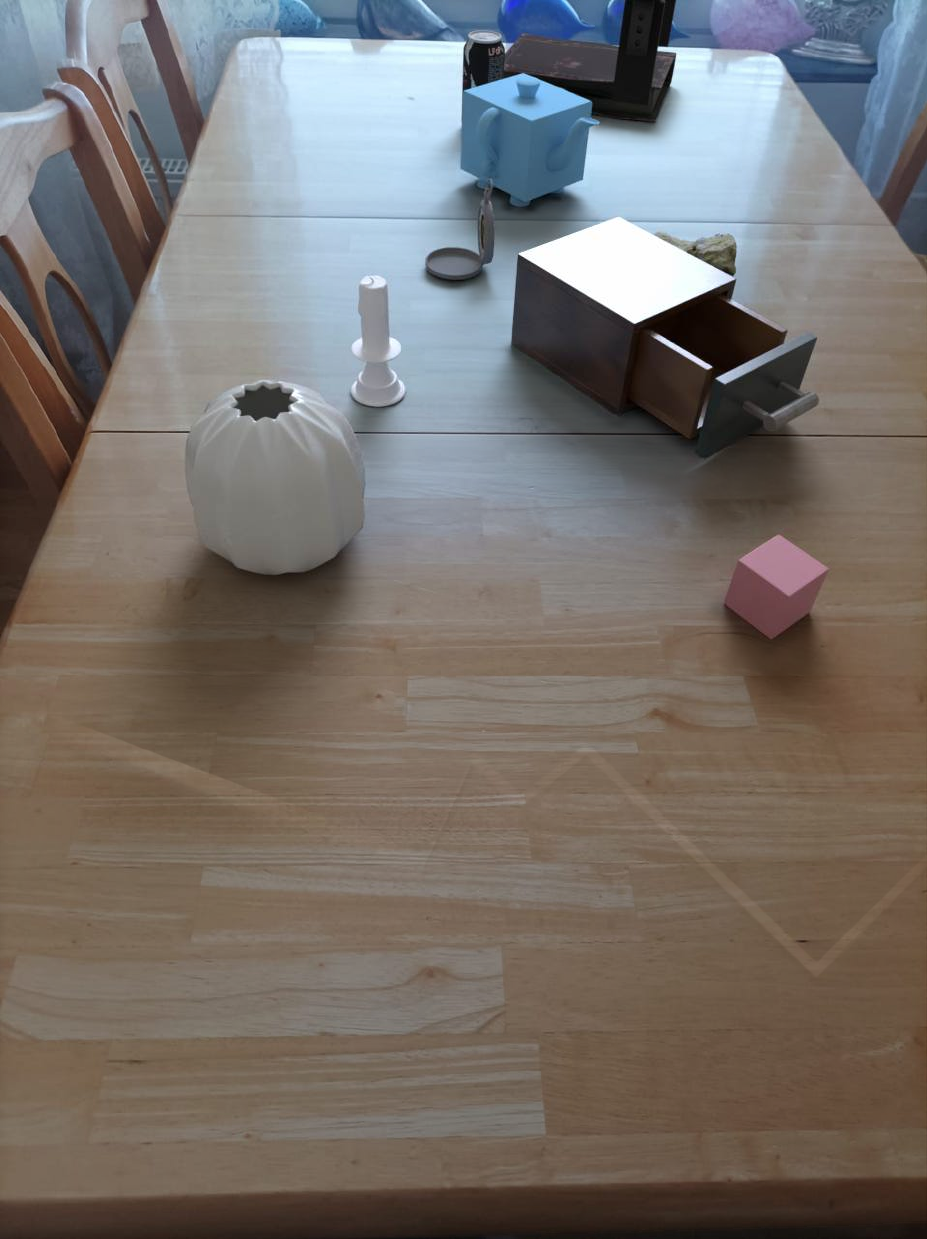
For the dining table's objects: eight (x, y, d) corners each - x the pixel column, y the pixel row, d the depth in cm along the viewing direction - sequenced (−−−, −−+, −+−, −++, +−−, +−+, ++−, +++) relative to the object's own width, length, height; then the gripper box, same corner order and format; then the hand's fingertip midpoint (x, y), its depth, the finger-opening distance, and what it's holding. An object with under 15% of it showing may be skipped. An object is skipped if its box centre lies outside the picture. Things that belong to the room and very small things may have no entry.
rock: (646, 260, 113) (631, 285, 106) (658, 204, 109) (644, 227, 102) (734, 278, 111) (726, 306, 104) (750, 223, 107) (742, 247, 100)
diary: (520, 63, 155) (523, 29, 151) (671, 83, 151) (677, 48, 147) (491, 103, 143) (493, 66, 139) (654, 126, 138) (660, 89, 135)
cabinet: (713, 368, 96) (736, 278, 88) (617, 416, 90) (634, 324, 82) (605, 303, 104) (618, 216, 96) (510, 343, 98) (517, 253, 90)
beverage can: (462, 119, 138) (464, 27, 129) (500, 121, 138) (506, 29, 129) (460, 135, 134) (462, 40, 125) (500, 137, 134) (505, 42, 125)
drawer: (825, 430, 88) (854, 356, 82) (737, 482, 82) (761, 407, 76) (679, 343, 97) (695, 271, 91) (591, 384, 91) (603, 310, 86)
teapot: (445, 186, 123) (447, 78, 113) (530, 156, 130) (538, 52, 120) (542, 237, 114) (552, 125, 104) (627, 202, 121) (644, 94, 111)
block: (810, 612, 73) (829, 568, 70) (771, 640, 71) (789, 597, 67) (762, 577, 76) (778, 533, 72) (722, 603, 74) (737, 559, 70)
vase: (252, 467, 83) (229, 332, 73) (396, 509, 80) (391, 373, 70) (164, 568, 74) (124, 430, 64) (321, 619, 71) (304, 482, 61)
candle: (368, 413, 89) (361, 297, 80) (341, 386, 92) (331, 270, 83) (416, 396, 91) (414, 281, 82) (388, 370, 94) (384, 255, 85)
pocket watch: (413, 266, 108) (412, 177, 101) (469, 245, 112) (472, 158, 104) (459, 295, 104) (461, 205, 97) (515, 272, 108) (521, 184, 100)
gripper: (662, -324, 66) (616, 18, 82) (610, -298, 50) (566, 122, 66) (769, -318, 65) (702, 28, 81) (752, -289, 49) (673, 136, 65)
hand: (641, 71), depth 74 cm, fingers open, 13 cm apart
